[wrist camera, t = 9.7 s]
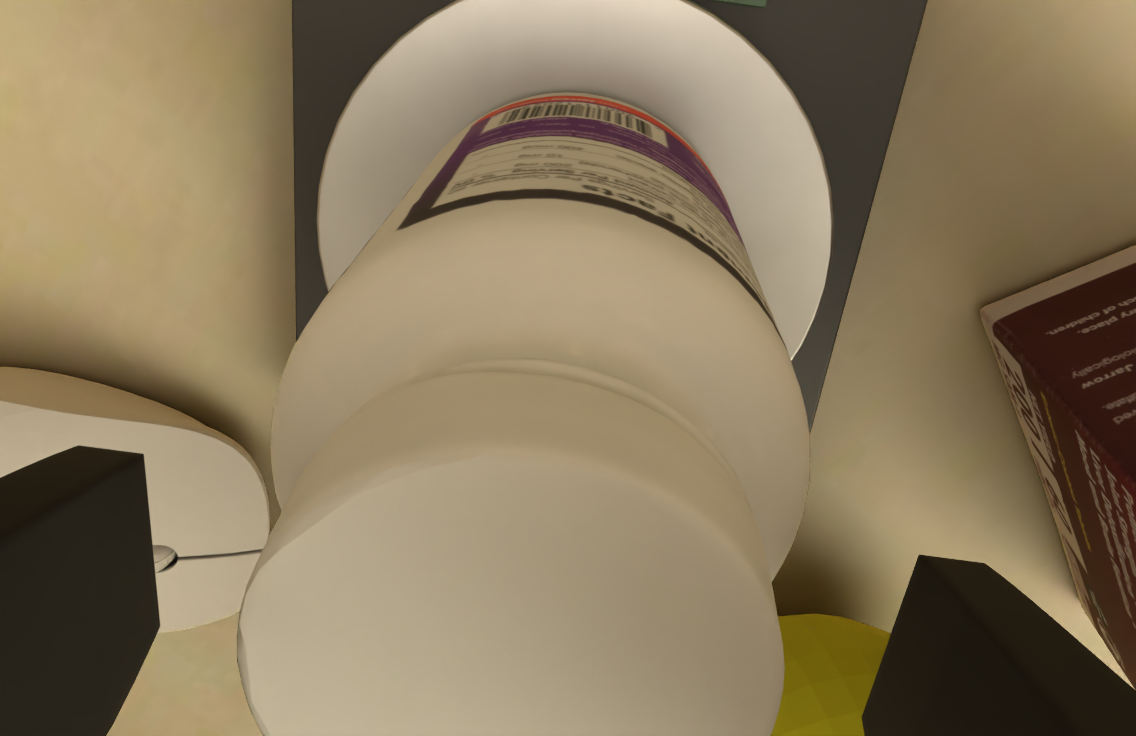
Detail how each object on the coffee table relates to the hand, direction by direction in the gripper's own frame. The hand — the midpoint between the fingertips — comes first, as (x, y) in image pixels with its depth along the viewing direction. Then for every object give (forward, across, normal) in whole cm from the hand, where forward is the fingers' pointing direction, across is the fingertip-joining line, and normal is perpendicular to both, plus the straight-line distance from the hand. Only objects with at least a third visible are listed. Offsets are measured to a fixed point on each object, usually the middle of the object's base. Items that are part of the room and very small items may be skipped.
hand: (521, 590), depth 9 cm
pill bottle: (+8, 0, -1) cm, 8 cm away
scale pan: (+8, 0, -1) cm, 9 cm away
